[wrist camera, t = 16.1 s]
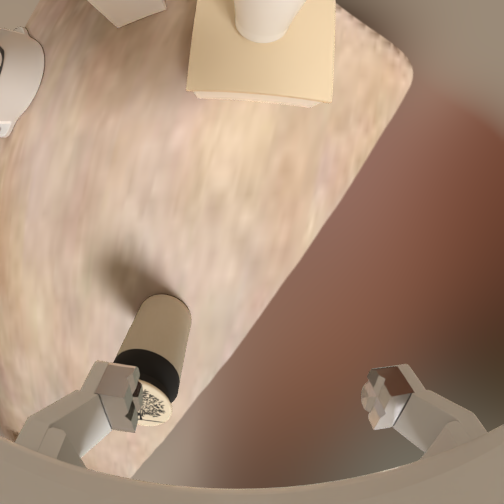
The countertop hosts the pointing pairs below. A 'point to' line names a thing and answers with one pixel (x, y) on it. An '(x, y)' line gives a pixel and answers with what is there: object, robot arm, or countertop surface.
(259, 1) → the white ceramic cup
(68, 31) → the countertop surface
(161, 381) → the travel mug
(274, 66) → the painted box
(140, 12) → the milk carton
